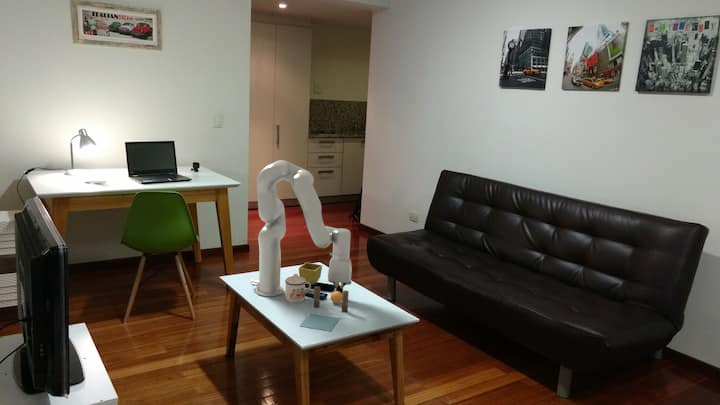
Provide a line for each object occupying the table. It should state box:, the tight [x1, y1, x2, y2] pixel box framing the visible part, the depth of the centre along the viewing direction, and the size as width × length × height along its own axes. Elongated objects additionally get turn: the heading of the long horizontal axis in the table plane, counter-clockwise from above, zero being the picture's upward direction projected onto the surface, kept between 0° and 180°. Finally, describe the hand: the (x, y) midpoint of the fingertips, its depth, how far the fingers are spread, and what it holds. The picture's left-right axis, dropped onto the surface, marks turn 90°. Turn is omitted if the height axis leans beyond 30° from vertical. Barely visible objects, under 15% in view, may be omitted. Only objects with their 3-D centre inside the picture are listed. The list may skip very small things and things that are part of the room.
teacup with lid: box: [284, 273, 312, 304], centre depth 248 cm, size 12×9×12 cm
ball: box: [330, 290, 342, 305], centre depth 246 cm, size 6×6×6 cm
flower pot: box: [298, 262, 323, 284], centre depth 267 cm, size 9×9×9 cm
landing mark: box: [299, 313, 341, 332], centre depth 227 cm, size 13×13×1 cm
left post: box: [313, 286, 321, 309], centre depth 240 cm, size 3×3×9 cm
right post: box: [341, 289, 349, 314], centre depth 238 cm, size 3×3×9 cm
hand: (339, 295), depth 252 cm, fingers closed
